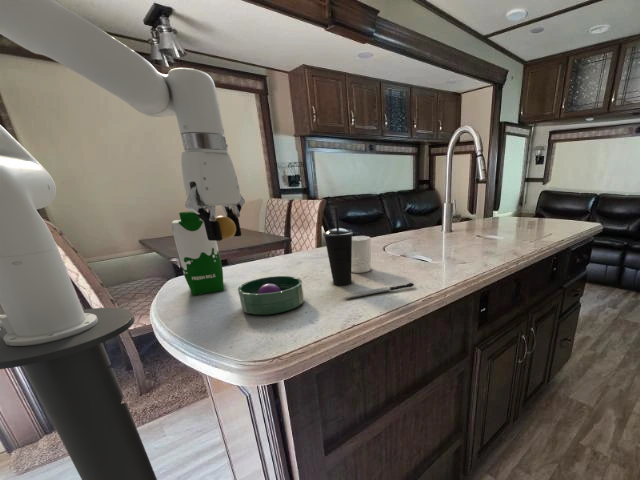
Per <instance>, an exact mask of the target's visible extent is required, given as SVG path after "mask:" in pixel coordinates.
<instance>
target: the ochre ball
mask: <svg viewBox="0 0 640 480" xmlns="http://www.w3.org/2000/svg"><path fill="white" fill-rule="evenodd" d="M215 221H218V222H219V226H220V231H221V235H222V240H223V241H225V240H226V241H227V240H229V239H231V238H233V237H235V236H234V235H235V233H236V225H235V223H234V221H233V220H232V219H230V218H229V217H227V216H226V215H218V216H215Z"/></svg>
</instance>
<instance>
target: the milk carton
mask: <svg viewBox="0 0 640 480" xmlns="http://www.w3.org/2000/svg"><path fill="white" fill-rule="evenodd" d="M178 214H179V219H175V220H172V222H171V230H172V235H173V238H174V244H175V247H176V251H177V254H178V258H179V262H180V266H181V269H182V273H183V276H184V278H185V281H186V283H187V285H188V288H189V290H190V292H191V294H192V296H193V297H194V296H198V295H199V296H200V295H205V294H210V293H217V292H222V291H225V286H224V270H223V264H222V259H221V255H220V251H219V245H218V241H210V240H208V238H207V233H206V229H205V225H204V221H201V220H200V218H199V217H198V216H197V215H196V214H195V213H194V212H192V211H191V210H190V211H181V212H180V211H179V212H178Z"/></svg>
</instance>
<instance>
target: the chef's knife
mask: <svg viewBox="0 0 640 480" xmlns="http://www.w3.org/2000/svg"><path fill="white" fill-rule="evenodd" d="M414 286H415V284H414V283H412V282H408V283H406V284H400V285H395V286H390V287H389V286H388V287H387V286H383V287H378V288H374V289H369V290H364V291H359V292H356V293H354V294H351V295H348V296H346V297H344V298H343V300H344V299H345V300H346V299H352V298H353V299H354V298H358V297H363V296H369V295H374V294H379V293H384V292H389V291H397V290H400V289H401V290H402V289H406V288H412V287H414Z"/></svg>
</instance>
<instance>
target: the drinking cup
mask: <svg viewBox="0 0 640 480" xmlns="http://www.w3.org/2000/svg"><path fill="white" fill-rule="evenodd" d="M334 218H335V228H330V229H328V230H327V231H325V232H323V233H322V236H323V237H324V241H325V246H326V251H327V257H328V262H329V267H330V272H331V277H332V282H333V285H334V286H348V285H350V284H352V272H351V267H352V236H353V235H354V232H353V231H351V230H349V229H347V228H343V227H340V225H339V224H340V223H339V211H338V207H334Z"/></svg>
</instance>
